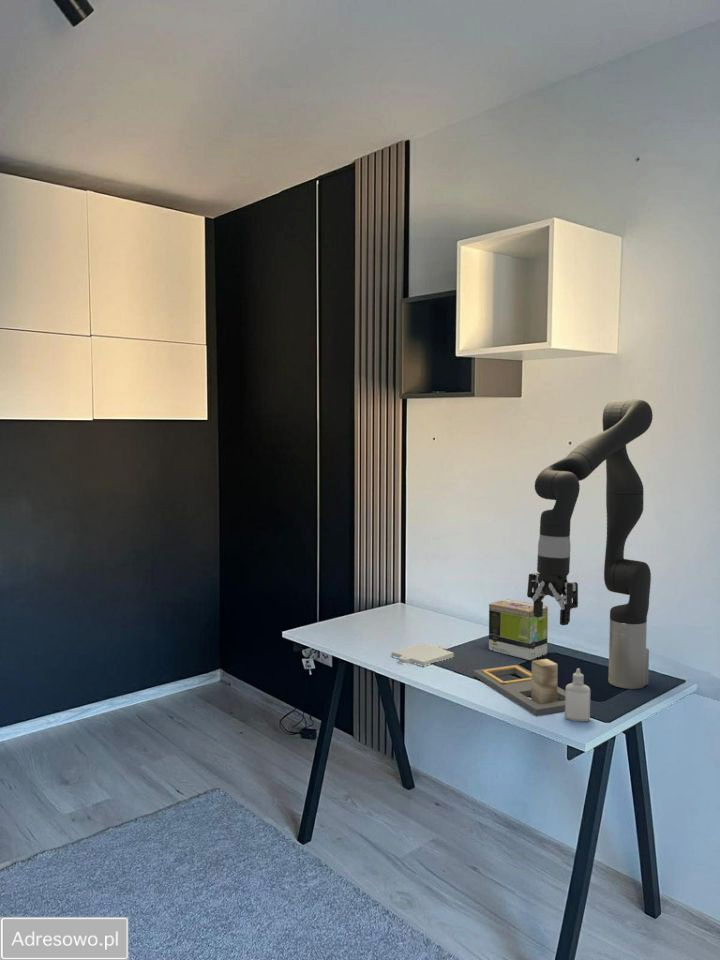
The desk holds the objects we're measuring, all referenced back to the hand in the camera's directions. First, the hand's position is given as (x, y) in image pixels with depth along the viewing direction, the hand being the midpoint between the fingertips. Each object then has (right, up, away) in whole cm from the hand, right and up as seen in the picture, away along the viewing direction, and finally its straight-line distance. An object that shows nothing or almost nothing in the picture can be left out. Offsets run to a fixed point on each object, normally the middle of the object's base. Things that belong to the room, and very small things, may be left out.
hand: (550, 620), depth 179 cm
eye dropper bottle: (+5, -22, -4) cm, 23 cm away
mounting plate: (-27, -19, +42) cm, 54 cm away
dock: (-3, -21, +14) cm, 25 cm away
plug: (0, -22, +7) cm, 22 cm away
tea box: (+2, -19, +47) cm, 50 cm away
